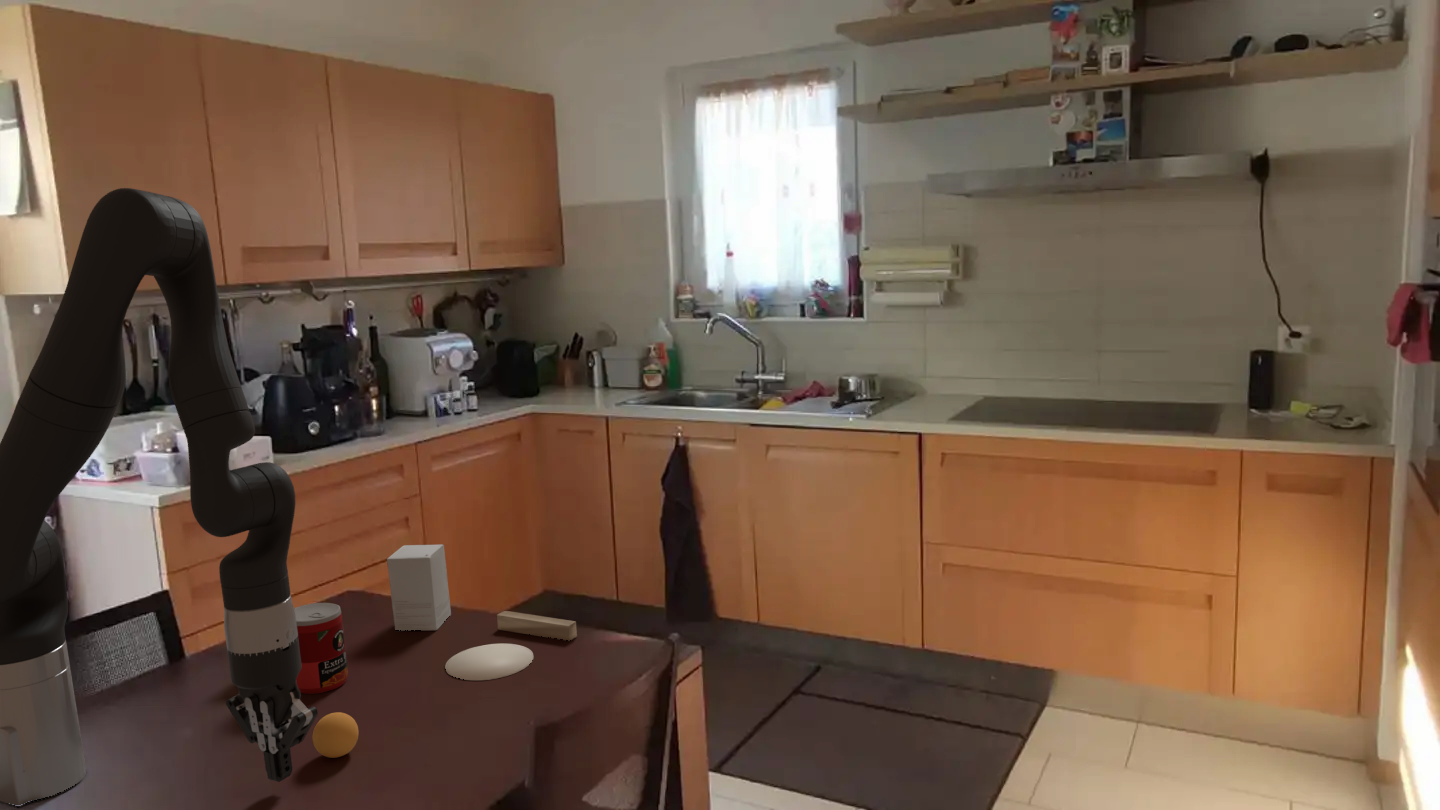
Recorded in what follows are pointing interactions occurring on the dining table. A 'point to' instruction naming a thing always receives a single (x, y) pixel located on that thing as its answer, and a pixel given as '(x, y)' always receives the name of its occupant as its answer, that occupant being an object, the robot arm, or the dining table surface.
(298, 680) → the canned food
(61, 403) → the robot arm
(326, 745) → the ball
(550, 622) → the stopper wall
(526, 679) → the dining table surface
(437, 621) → the supplement box
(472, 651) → the disc
